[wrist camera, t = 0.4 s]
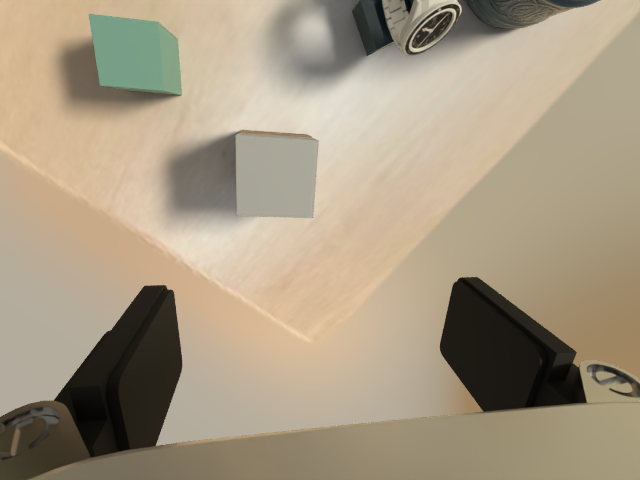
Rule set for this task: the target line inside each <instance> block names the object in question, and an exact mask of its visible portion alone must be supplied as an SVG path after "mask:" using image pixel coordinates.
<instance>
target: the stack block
mask: <svg viewBox="0 0 640 480" xmlns="http://www.w3.org/2000/svg"><path fill="white" fill-rule="evenodd" d="M89 19H90V25H91V32H92V38H93V45H94V51H95V58H96V64H97V71H98V77H99V84H100V86H106V87H111V88H116V89H122V90H127V91H137V92H149V93H161V94H173V95H182V90H181V76H180V62H179V49H178V39H177V38H176V37H175V36H174V35H173V34H172V33H170V32H169V31H168V30H167V29H166V28H165V27H163V26H162V25H161V24H160V23H159V22H155V21H146V20H137V19H129V18H120V17H112V16H103V15H94V14H89Z"/></svg>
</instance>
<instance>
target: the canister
mask: <svg viewBox="0 0 640 480" xmlns="http://www.w3.org/2000/svg"><path fill="white" fill-rule="evenodd" d="M598 1H600V0H467V2H468V4H469V6H470V7H471V9H472V10H473V12H474V13H475V14H476V15H477V16H478V17H479V18H480V19H481V20H482V21H484V22H485V23H487V24H489V25H491V26H494V27H497V28H503V29H509V28H513V29H515V28H524V27H528V26H531V25H534V24H537V23H539V22H541V21H544V20H545V19H547V18H549V17H550V16H553V15H556V14H559V13H562V12H564V11H567V10H570V9H573V8H578V7H584V6H588V5H591V4H593V3H596V2H598Z"/></svg>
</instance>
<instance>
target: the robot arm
mask: <svg viewBox="0 0 640 480" xmlns="http://www.w3.org/2000/svg"><path fill="white" fill-rule="evenodd" d="M440 351H441V354H442V356H443V357H444V358H445V360H446V361H447V363H448V364H449V365H450V367H451V368H452V369H453V371H454V372H455V373H456V374H457V376H458V377H459V379H460V380H461V382H462V383H463V384H464V385H465V387H466V388H467V390H468V391H469V392H470V394H471V395H472V397H473V398H474V399H475V401H476V402H477V403H478V405H479V406H480V407H481V409H482V410H483V412H475V413H464V414H454V415H443V416H433V417H422V418H413V419H402V420H391V421H382V422H371V423H361V424H351V425H341V426H331V427H321V428H312V429H302V430H293V431H283V432H275V433H265V434H254V435H245V436H235V437H226V438H217V439H207V440H198V441H188V442H182V443H174V444H167V445H160V446H156V443H157V440H158V437H159V434H160V432H161V429H162V426H163V423H164V420H165V417H166V414H167V412H168V409H169V406H170V403H171V400H172V397H173V394H174V391H175V388H176V385H177V383H178V380H179V377H180V373H181V370H182V355H181V347H180V339H179V331H178V323H177V315H176V306H175V298H174V292H173V290H168V289H167V287H166V286H165V285H161V286H160V285H157V286H144V287H143V288H142V290H141V291H140V292H139V294H138V295H137V296H136V298H135V299H134V300H133V302H132V303H131V304H130V306H129V307H128V308H127V310H126V311H125V313H124V314H123V315H122V316H121V318H120V319H119V320H118V322H117V323H116V324H115V326H114V327H113V328H112V330H111V331H108V332H106V334H104V336H103V337H102V338H101V339H100V341H99V342H98V343H97V345H96V346H95V347H94V349H93V350H92V351H91V353H90V354H89V355H88V356H87V358H86V359H85V361H84V362H83V363H82V364H81V366H80V367H79V368H78V369H77V371H76V372H75V373H74V375H73V376H72V378H71V379H70V380H69V381H68V383H67V384H66V385H65V386H64V388H63V389H62V390H61V392H60V393H59V394H58V396H57V397H56V398H55V400H54V401H40V402H35V403H31V404H28V405H25V406H22V407H20V408H17V409H15V410H13V411H11V412H9V413H7V414H5V415H3V416H1V417H0V480H640V379H639V378H637V377H636V376H634V375H633V374H631V373H630V372H627V371H626V370H623V369H621V368H620V367H617V366H614V365H612V364H609V363H605V362H601V361H595V360H587V361H583V362H582V363H580V365H579V367H577V366H576V365H574V364H573V360H574V358H575V355H576V351H574V350H573V349H572V348H570V347H569V346H568V345H567V344H565V343H564V342H562V341H561V340H560V339H558V338H557V337H556V336H555V335H553V334H552V333H551V332H549V331H548V330H547V329H545V328H544V327H543V326H541V325H540V324H539V323H537V322H536V321H535V320H533V319H532V318H531V317H529V316H528V315H527V314H526V313H524V312H523V311H522V310H520V309H519V308H517V307H516V306H515V305H514V304H512V303H511V302H509V301H508V300H507V299H506V298H504V297H503V296H502V295H500V294H499V293H498V292H496V291H495V290H494V289H492V288H491V287H490V286H489V285H487V284H486V283H484V282H483V281H482V280H480V279H479V278H477V277H470V278H469V277H467V278H459V279H458V281H457V282H455V283H454V284H453V287H452V292H451V296H450V301H449V306H448V311H447V315H446V319H445V324H444V329H443V334H442V338H441V342H440Z"/></svg>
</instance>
